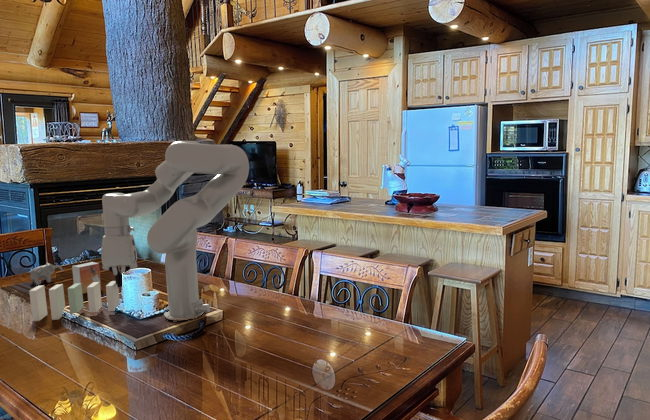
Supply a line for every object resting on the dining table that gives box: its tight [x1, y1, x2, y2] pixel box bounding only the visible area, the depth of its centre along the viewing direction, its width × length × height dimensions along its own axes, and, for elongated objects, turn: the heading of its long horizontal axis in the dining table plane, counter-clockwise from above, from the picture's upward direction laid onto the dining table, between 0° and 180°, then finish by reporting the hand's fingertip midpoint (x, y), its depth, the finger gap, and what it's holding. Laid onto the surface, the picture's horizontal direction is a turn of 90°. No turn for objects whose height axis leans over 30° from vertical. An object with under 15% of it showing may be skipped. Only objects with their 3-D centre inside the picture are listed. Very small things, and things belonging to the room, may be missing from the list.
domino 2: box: [48, 283, 66, 321], centre depth 160 cm, size 2×6×10 cm, turn 7°
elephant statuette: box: [29, 262, 64, 286], centre depth 204 cm, size 9×12×8 cm
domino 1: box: [29, 284, 48, 322], centre depth 159 cm, size 2×6×10 cm, turn 7°
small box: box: [71, 261, 102, 295], centre depth 188 cm, size 8×6×10 cm
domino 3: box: [67, 283, 85, 314], centre depth 160 cm, size 2×6×10 cm, turn 6°
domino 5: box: [105, 280, 121, 312], centre depth 162 cm, size 2×6×10 cm, turn 7°
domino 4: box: [86, 282, 103, 312], centre depth 161 cm, size 2×6×10 cm, turn 7°
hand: (121, 285), depth 162 cm, fingers closed
